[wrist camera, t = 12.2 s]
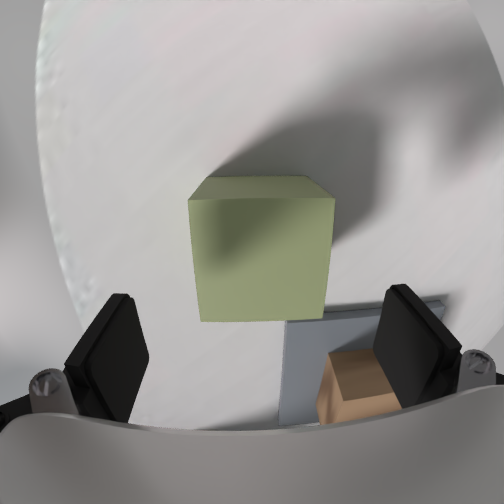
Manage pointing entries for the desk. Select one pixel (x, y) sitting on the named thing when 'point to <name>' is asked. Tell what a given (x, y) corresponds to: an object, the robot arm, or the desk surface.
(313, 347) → the baseplate
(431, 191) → the desk surface
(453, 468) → the robot arm
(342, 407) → the walnut block
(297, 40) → the desk surface
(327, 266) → the olive block
